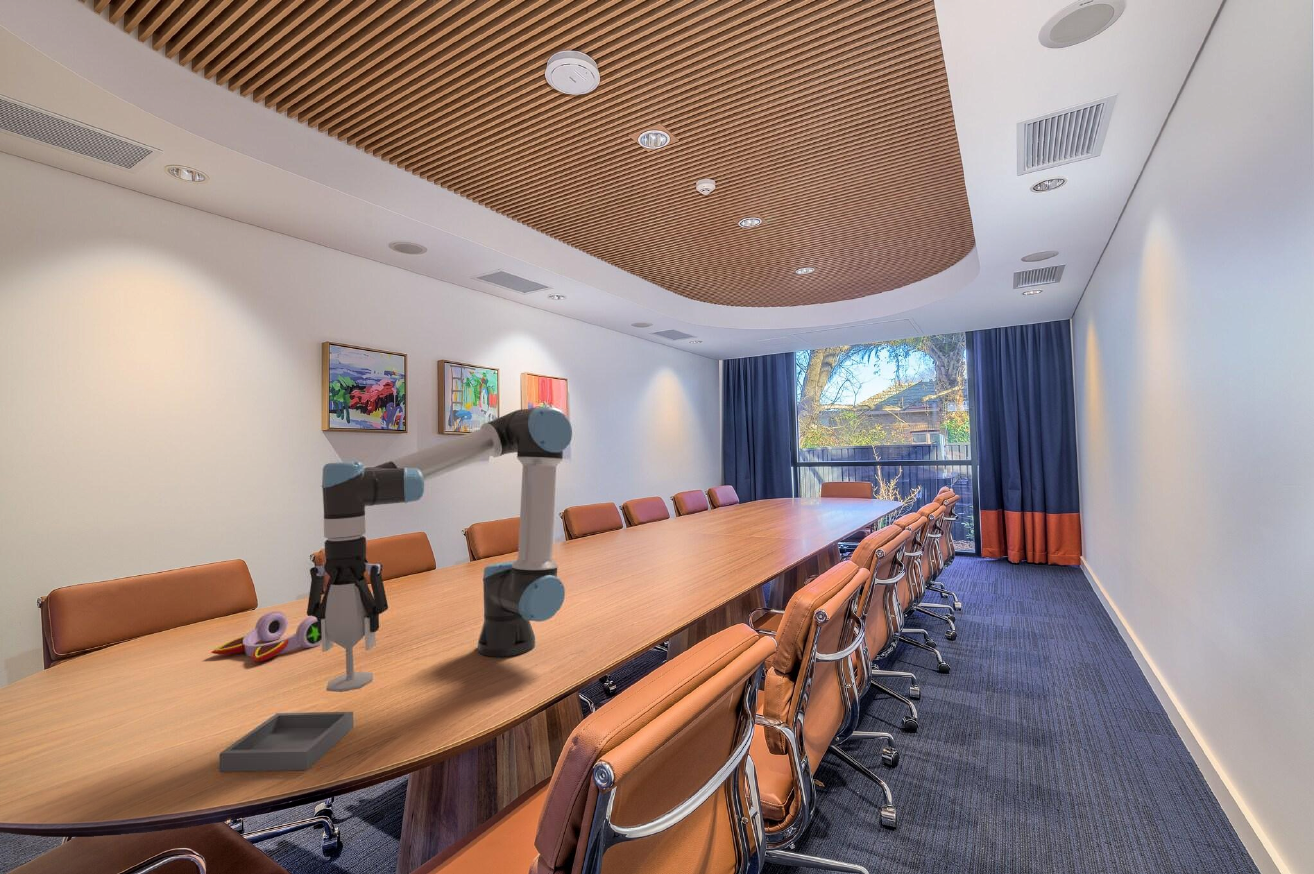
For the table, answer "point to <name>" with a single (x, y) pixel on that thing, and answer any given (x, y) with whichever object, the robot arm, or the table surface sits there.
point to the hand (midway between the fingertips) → (349, 648)
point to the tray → (287, 742)
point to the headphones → (273, 637)
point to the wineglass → (346, 633)
